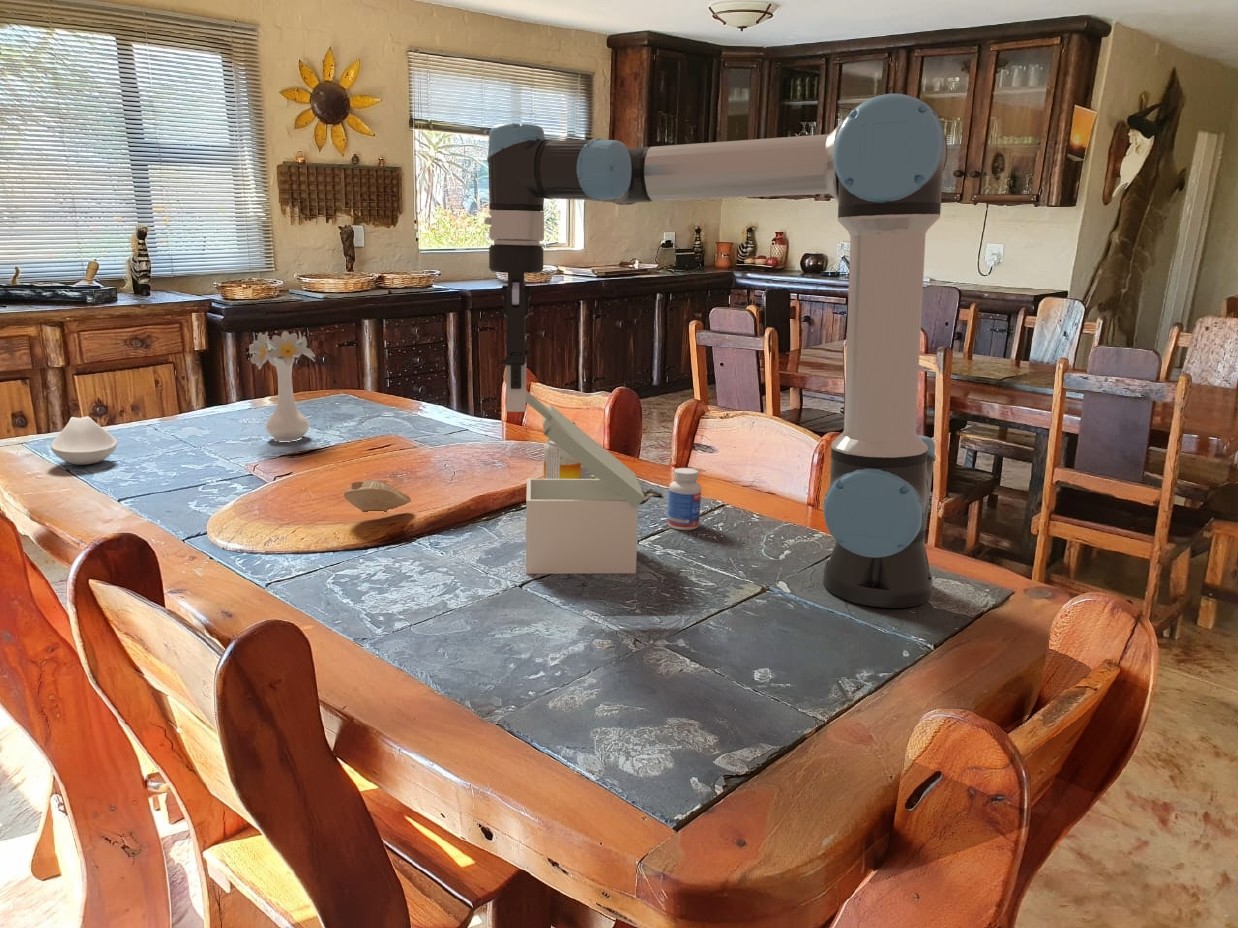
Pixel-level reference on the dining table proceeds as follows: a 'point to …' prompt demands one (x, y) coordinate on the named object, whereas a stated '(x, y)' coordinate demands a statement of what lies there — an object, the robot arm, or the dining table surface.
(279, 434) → the flower vase
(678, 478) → the pill bottle
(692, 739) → the dining table surface
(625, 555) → the tub
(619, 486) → the lid
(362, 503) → the pottery oil lamp
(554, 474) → the beer can
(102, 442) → the spoon rest
